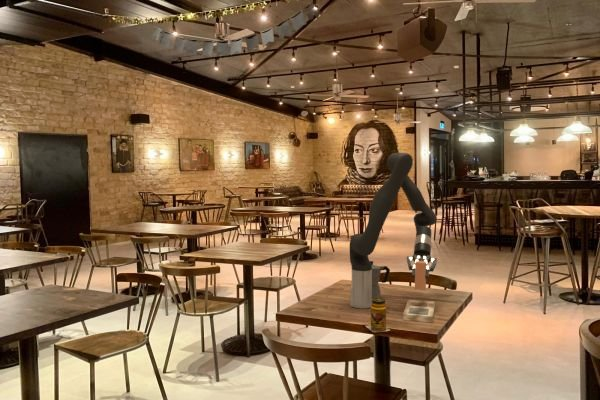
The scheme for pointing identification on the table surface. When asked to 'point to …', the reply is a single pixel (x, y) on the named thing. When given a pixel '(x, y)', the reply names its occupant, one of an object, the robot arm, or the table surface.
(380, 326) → the condiment
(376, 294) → the coffeepot
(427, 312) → the puzzle board
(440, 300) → the table surface
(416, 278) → the block
